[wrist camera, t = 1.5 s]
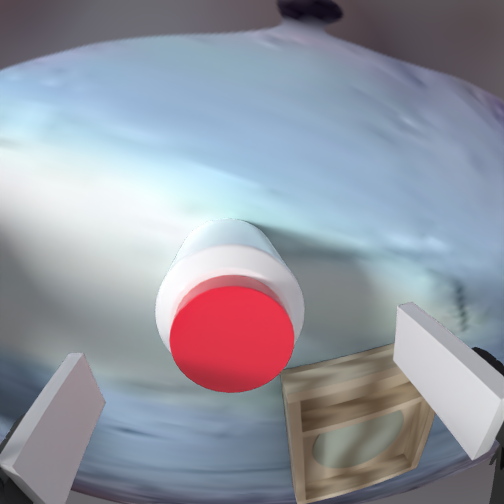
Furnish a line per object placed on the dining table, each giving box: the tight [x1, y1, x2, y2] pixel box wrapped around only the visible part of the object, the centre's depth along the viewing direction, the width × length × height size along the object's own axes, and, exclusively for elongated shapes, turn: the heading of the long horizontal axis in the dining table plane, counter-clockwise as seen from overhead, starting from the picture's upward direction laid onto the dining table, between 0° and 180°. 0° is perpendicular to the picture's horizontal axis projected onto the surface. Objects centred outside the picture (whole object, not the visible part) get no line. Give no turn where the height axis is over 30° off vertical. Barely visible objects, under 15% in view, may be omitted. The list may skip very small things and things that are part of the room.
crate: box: [280, 343, 435, 504], centre depth 28 cm, size 16×20×4 cm
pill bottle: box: [155, 218, 305, 393], centre depth 19 cm, size 8×8×11 cm
